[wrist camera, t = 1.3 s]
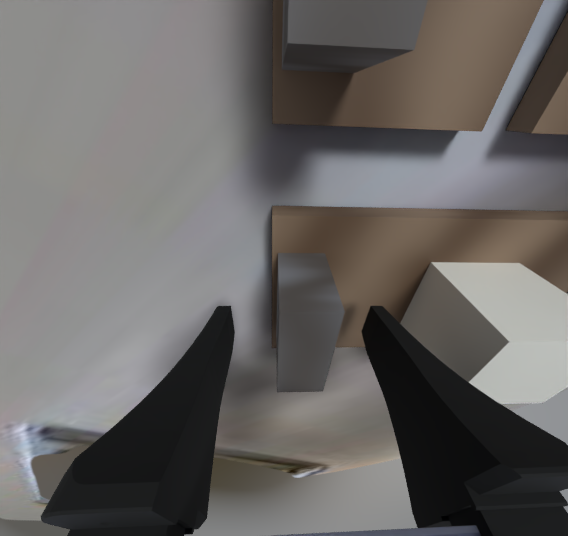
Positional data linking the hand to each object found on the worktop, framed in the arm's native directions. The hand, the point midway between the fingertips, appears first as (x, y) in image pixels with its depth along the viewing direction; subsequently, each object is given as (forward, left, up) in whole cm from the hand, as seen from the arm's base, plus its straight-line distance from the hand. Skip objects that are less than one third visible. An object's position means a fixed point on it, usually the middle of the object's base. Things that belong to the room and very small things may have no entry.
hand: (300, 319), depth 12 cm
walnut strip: (-8, 0, -3) cm, 8 cm away
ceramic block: (-10, 0, -2) cm, 10 cm away
